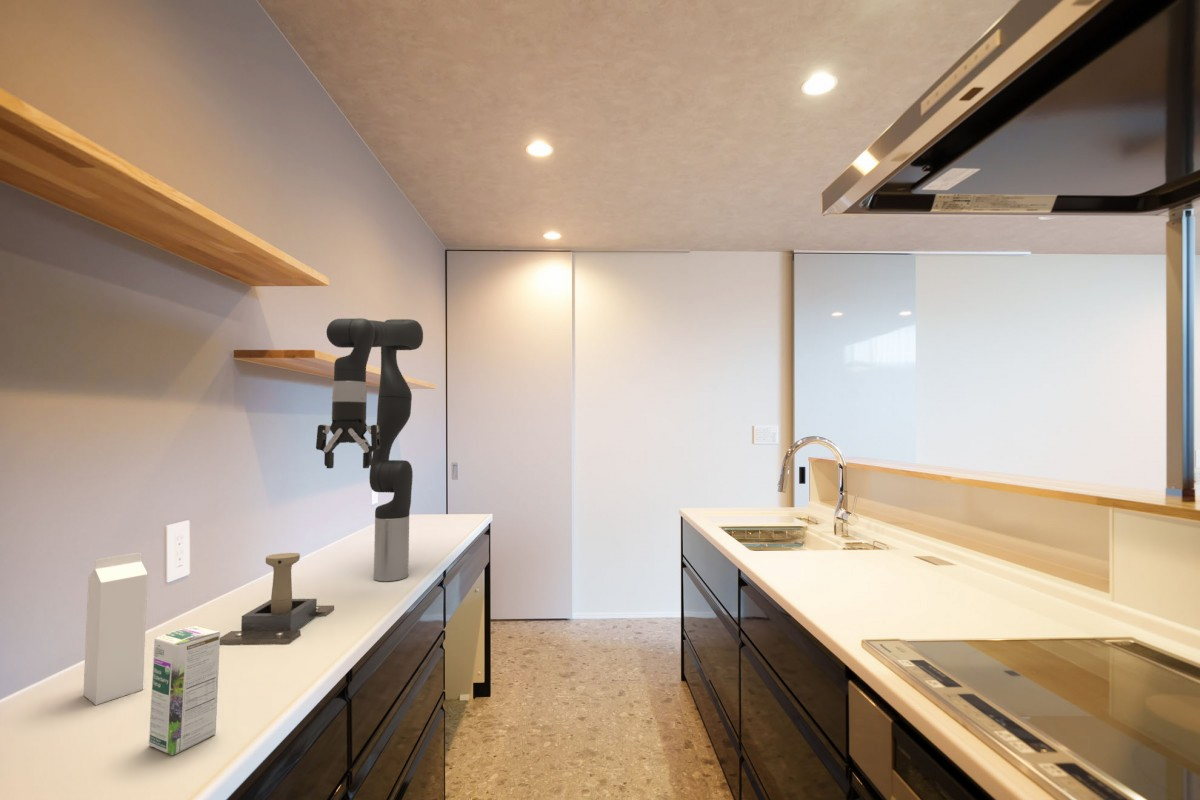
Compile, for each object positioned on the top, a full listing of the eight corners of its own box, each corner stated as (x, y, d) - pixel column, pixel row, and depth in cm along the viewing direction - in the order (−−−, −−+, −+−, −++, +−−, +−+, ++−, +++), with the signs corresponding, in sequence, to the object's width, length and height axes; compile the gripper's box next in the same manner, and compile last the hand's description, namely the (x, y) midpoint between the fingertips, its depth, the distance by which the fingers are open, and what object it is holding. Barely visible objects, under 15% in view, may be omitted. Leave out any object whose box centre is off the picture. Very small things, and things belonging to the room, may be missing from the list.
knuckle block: (273, 610, 128) (274, 592, 128) (334, 609, 128) (334, 592, 128) (216, 644, 108) (217, 624, 108) (288, 644, 108) (289, 623, 108)
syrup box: (146, 746, 74) (150, 637, 74) (193, 724, 79) (197, 623, 80) (171, 757, 71) (175, 644, 72) (218, 733, 77) (222, 629, 78)
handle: (294, 628, 116) (296, 557, 117) (260, 631, 115) (262, 559, 115) (300, 620, 121) (302, 552, 122) (267, 623, 119) (269, 554, 120)
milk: (82, 695, 88) (87, 557, 89) (130, 680, 93) (134, 549, 94) (95, 706, 84) (101, 561, 85) (144, 689, 89) (148, 554, 90)
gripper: (385, 401, 135) (383, 467, 135) (326, 401, 135) (325, 467, 134) (373, 400, 128) (372, 469, 127) (311, 399, 127) (310, 469, 127)
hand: (347, 468), depth 131 cm, fingers open, 8 cm apart
